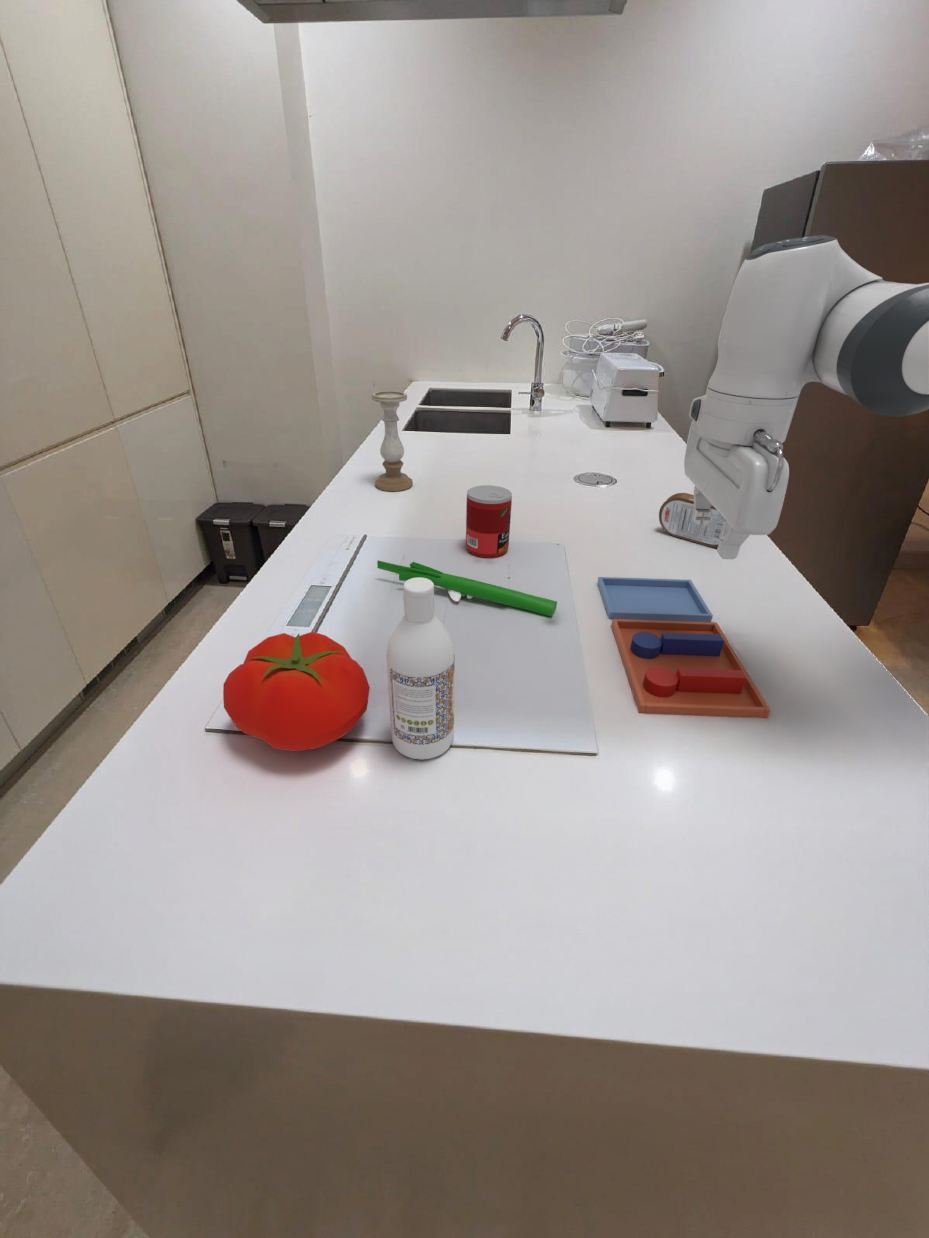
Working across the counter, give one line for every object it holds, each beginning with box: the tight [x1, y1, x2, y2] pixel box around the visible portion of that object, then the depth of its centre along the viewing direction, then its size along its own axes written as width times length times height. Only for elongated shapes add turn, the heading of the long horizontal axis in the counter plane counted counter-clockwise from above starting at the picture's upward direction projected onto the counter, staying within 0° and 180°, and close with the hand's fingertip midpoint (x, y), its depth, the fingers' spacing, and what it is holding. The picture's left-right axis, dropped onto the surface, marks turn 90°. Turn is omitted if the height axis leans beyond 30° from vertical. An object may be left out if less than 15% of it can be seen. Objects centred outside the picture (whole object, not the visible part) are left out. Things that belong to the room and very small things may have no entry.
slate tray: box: [596, 576, 713, 622], centre depth 91 cm, size 15×11×2 cm
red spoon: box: [643, 666, 746, 697], centre depth 73 cm, size 12×4×3 cm, turn 88°
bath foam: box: [386, 577, 456, 760], centre depth 60 cm, size 7×7×20 cm
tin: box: [658, 492, 728, 548], centre depth 110 cm, size 15×3×8 cm, turn 51°
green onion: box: [376, 560, 558, 618], centre depth 91 cm, size 5×3×30 cm
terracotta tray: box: [610, 619, 771, 719], centre depth 77 cm, size 15×19×2 cm
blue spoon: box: [630, 632, 724, 659], centre depth 79 cm, size 12×4×3 cm, turn 88°
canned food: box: [465, 484, 513, 559], centre depth 104 cm, size 8×8×11 cm
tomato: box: [222, 631, 370, 752], centre depth 65 cm, size 14×16×10 cm
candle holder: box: [371, 390, 414, 492], centre depth 130 cm, size 9×9×20 cm
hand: (712, 538), depth 69 cm, fingers open, 8 cm apart
